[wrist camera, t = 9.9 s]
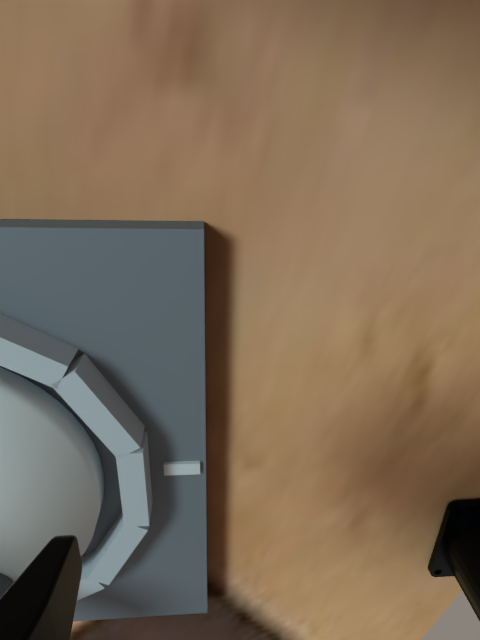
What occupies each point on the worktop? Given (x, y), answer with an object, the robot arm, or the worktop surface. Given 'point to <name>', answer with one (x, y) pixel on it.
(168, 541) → the dial plate
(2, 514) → the dial knob
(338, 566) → the worktop surface
